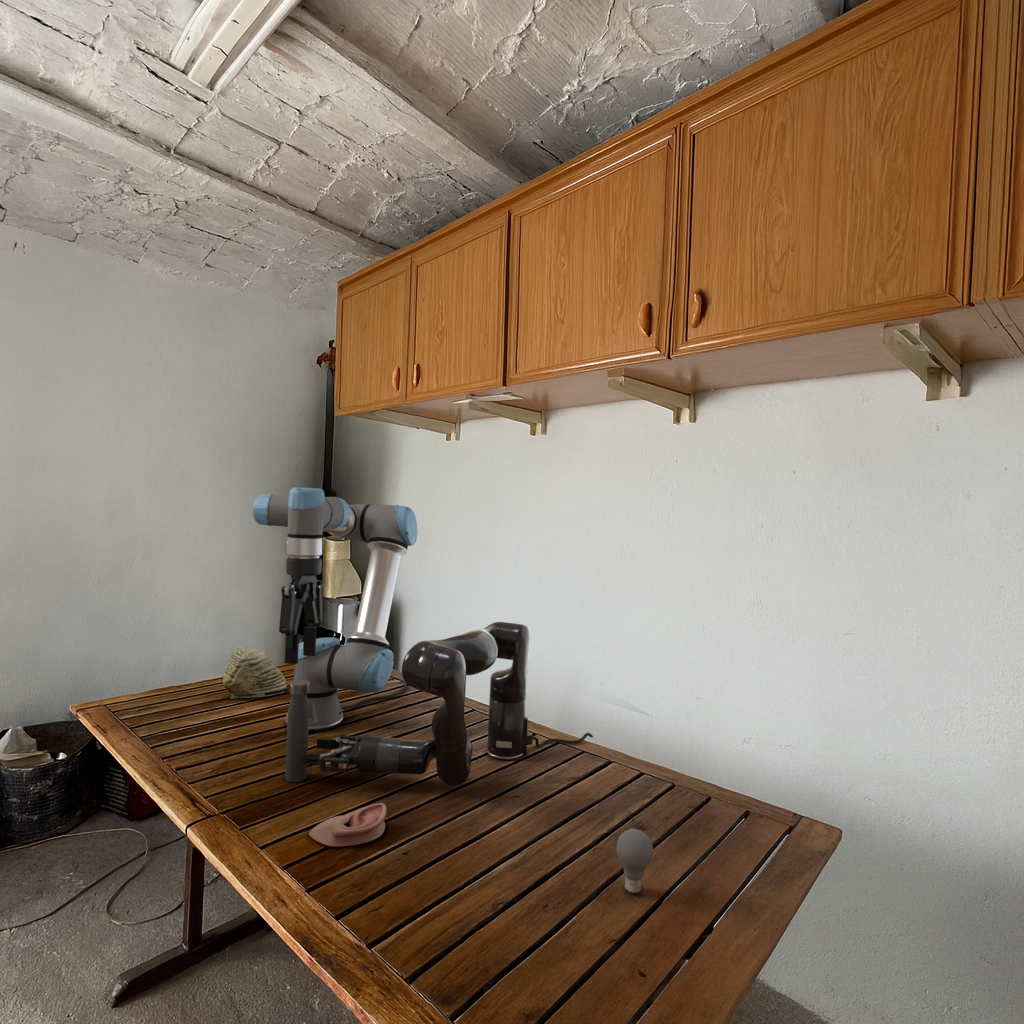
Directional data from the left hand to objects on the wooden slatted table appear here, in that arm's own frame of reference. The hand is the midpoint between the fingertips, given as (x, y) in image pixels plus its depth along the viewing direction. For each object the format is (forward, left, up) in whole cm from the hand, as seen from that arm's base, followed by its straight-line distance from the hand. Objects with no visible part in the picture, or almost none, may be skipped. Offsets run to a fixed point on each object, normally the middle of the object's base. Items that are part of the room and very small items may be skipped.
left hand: (300, 659), depth 142 cm
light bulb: (-14, +76, -27) cm, 82 cm away
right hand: (-2, +3, -20) cm, 21 cm away
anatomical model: (+6, +27, -27) cm, 39 cm away
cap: (0, 0, -6) cm, 6 cm away
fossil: (-24, -60, -27) cm, 70 cm away
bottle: (0, 0, -27) cm, 27 cm away
